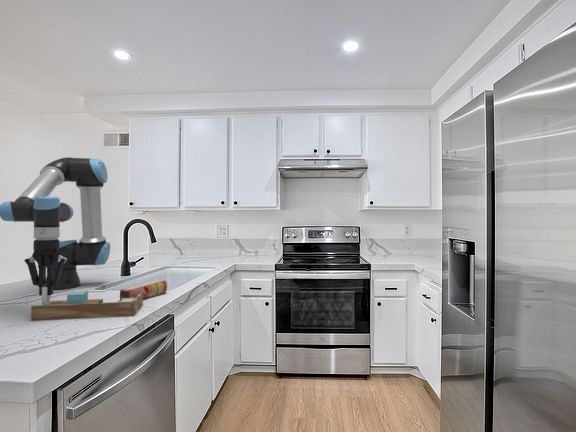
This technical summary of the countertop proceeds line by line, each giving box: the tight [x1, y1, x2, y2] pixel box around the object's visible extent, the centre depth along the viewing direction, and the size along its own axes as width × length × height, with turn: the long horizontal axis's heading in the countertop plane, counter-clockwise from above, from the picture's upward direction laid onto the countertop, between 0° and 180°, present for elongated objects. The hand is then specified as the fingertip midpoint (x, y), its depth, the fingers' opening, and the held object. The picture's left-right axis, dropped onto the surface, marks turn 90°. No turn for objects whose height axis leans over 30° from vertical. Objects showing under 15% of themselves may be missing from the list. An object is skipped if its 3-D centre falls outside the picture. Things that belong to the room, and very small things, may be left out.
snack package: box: [119, 278, 168, 300], centre depth 145 cm, size 21×7×7 cm, turn 155°
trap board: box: [30, 292, 144, 322], centre depth 123 cm, size 15×33×5 cm, turn 102°
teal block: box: [66, 290, 89, 304], centre depth 119 cm, size 5×5×5 cm
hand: (46, 304), depth 117 cm, fingers closed
